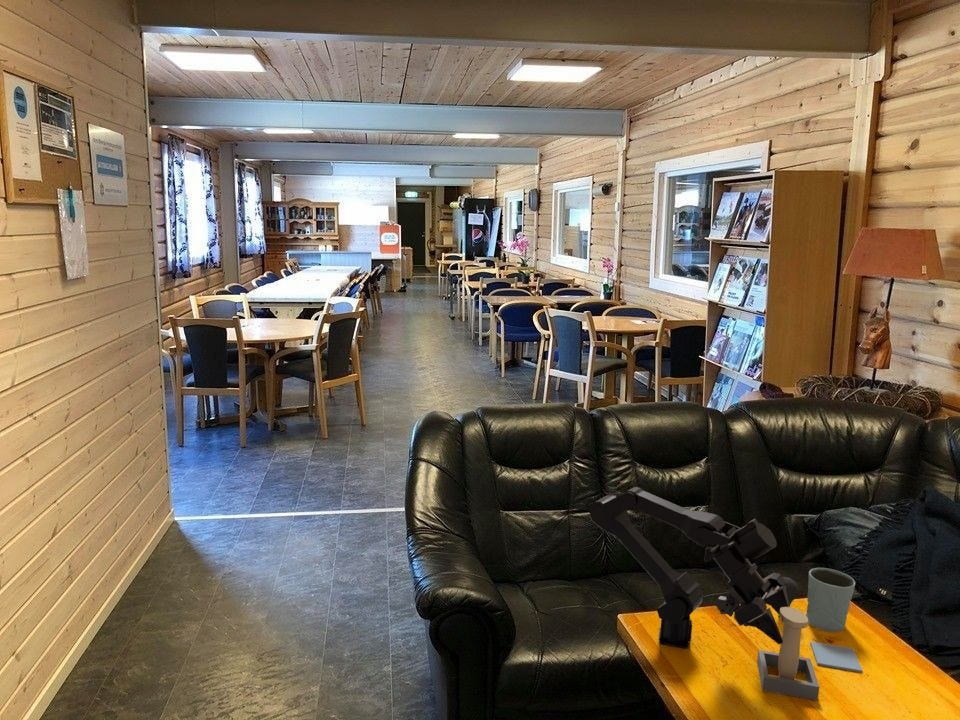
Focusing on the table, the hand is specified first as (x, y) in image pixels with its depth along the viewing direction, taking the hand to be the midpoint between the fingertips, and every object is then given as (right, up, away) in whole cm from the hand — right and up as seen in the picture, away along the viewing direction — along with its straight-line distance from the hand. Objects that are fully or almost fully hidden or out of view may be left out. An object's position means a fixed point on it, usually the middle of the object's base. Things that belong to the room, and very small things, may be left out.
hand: (786, 633), depth 151 cm
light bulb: (+11, -6, +28) cm, 31 cm away
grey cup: (+21, -7, +26) cm, 34 cm away
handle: (0, -11, +1) cm, 11 cm away
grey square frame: (0, -10, +1) cm, 10 cm away
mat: (+15, -9, +11) cm, 21 cm away
